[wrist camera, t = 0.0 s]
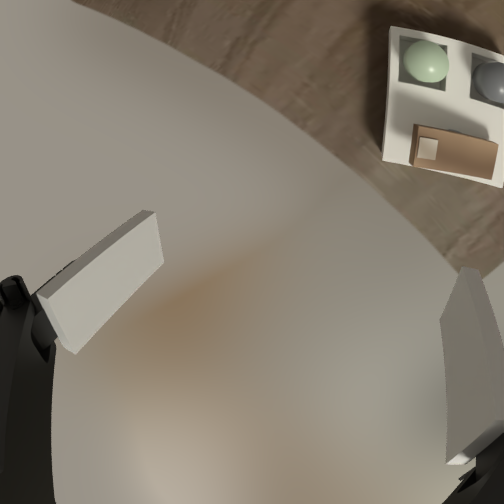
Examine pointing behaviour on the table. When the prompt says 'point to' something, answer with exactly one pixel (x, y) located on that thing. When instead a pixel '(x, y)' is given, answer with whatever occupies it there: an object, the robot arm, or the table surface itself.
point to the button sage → (426, 62)
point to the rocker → (452, 152)
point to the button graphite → (490, 81)
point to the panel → (440, 100)
